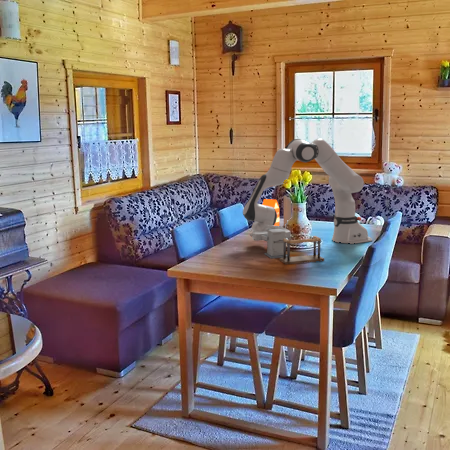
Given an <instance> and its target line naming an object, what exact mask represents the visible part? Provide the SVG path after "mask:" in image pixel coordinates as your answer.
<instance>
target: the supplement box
mask: <svg viewBox="0 0 450 450" xmlns="http://www.w3.org/2000/svg"><path fill="white" fill-rule="evenodd" d="M267 236H268V237H269V240H267V241H266V242H267V243H266V244H267V247H266V249H267V252H266V253H268V254H269V255H271V256H279V255H284V241H283V239H285V231H284V230H282V229H271V230H267Z"/></svg>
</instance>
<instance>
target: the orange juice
mask: <svg viewBox="0 0 450 450" xmlns="http://www.w3.org/2000/svg"><path fill="white" fill-rule="evenodd" d="M262 201H263V202H262V205H266V206H270V207H274V208H275V210H276V212H277V220H276V223H275V225H274V226H280V207H279V203H278V201H277V199H271V198H269V199H267V198H264V199H263V200H262Z"/></svg>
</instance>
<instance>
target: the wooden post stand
mask: <svg viewBox="0 0 450 450" xmlns="http://www.w3.org/2000/svg"><path fill="white" fill-rule="evenodd" d="M283 241H284V259H286V254H287V261H290V257H291V244H299V243H300V244H301V243H313V248H312V249H313V254H312V255H313V256H316V255H318V258H320V256H321V241H322V238H320V237H318V236H316V235H314V236H313V237H312V238H303V239H294V240H293V239H291V240H290V239H288V238H285V239H283Z"/></svg>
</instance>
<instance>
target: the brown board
mask: <svg viewBox="0 0 450 450" xmlns="http://www.w3.org/2000/svg"><path fill="white" fill-rule="evenodd" d="M279 261H280V262H282V263H283V264H284V265H296V264H307V263H316V261H319V262H325V258H324V257H323V256H321V255H320V258H318V254H316V256H313V254H310V255H309V254H308V255H297V256H290V261H287V257H286V259H284V258H279Z"/></svg>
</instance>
